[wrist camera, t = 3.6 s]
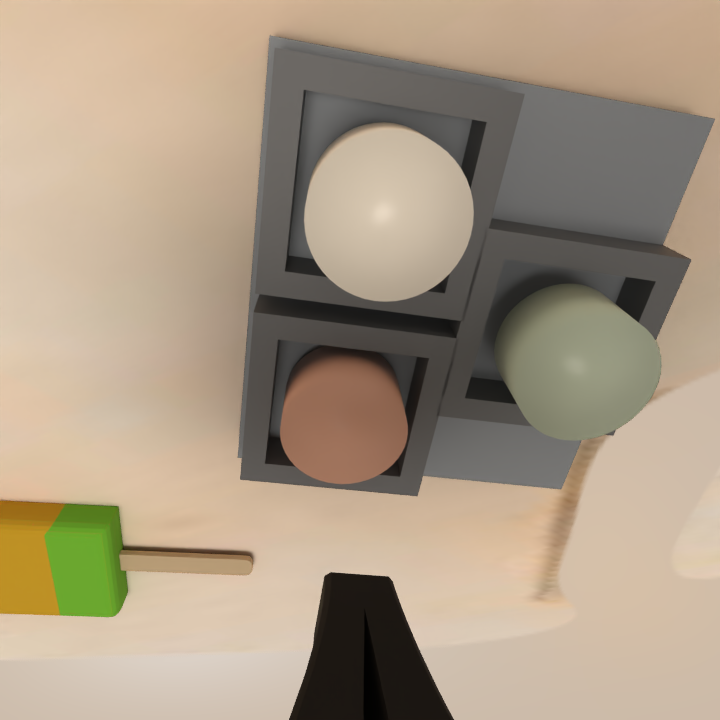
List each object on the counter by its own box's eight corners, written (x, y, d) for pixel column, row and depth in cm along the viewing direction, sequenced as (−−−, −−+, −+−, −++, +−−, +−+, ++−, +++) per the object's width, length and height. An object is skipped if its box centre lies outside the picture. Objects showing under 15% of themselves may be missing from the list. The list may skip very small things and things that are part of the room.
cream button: (469, 136, 14) (493, 146, 12) (435, 280, 16) (451, 311, 14) (317, 109, 14) (314, 116, 12) (299, 261, 16) (295, 290, 14)
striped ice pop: (-110, 486, 23) (-144, 519, 21) (256, 504, 24) (251, 536, 23) (-77, 579, 25) (-105, 615, 24) (253, 590, 27) (248, 625, 25)
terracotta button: (409, 350, 19) (419, 386, 17) (388, 446, 21) (394, 489, 18) (291, 336, 18) (286, 370, 16) (280, 435, 20) (274, 477, 18)
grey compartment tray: (690, 116, 17) (752, 123, 15) (550, 470, 23) (576, 517, 21) (273, 38, 16) (263, 31, 13) (242, 439, 22) (230, 485, 19)
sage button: (640, 293, 17) (685, 324, 15) (594, 404, 19) (628, 447, 16) (514, 275, 16) (542, 305, 14) (480, 390, 18) (500, 432, 16)
